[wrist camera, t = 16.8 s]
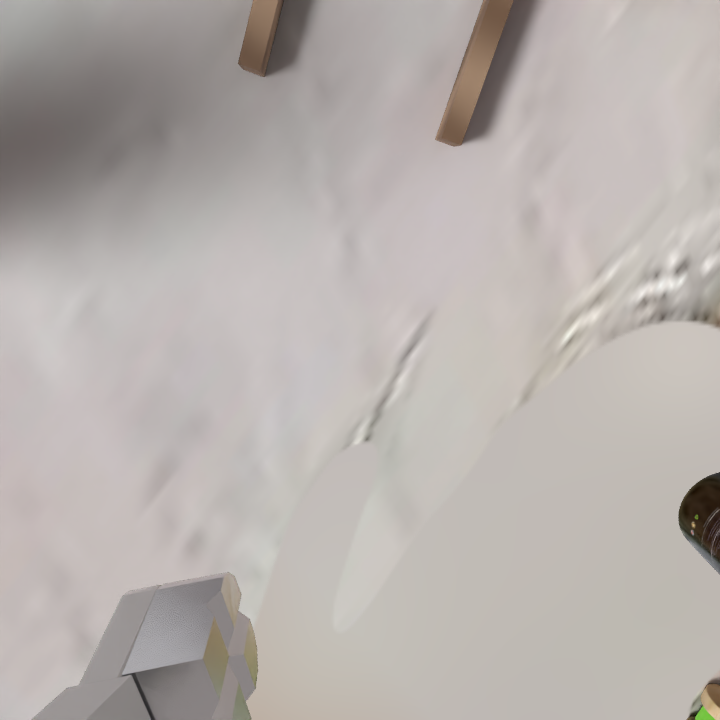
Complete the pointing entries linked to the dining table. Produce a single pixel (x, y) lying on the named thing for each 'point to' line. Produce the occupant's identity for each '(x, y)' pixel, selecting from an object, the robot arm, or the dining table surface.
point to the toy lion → (709, 704)
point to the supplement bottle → (703, 518)
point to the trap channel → (467, 80)
